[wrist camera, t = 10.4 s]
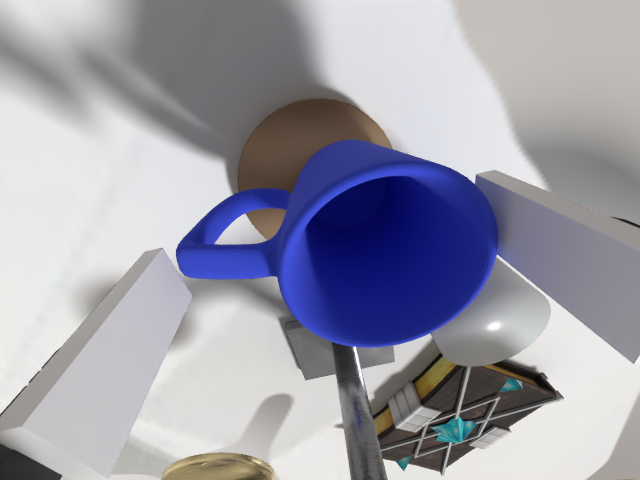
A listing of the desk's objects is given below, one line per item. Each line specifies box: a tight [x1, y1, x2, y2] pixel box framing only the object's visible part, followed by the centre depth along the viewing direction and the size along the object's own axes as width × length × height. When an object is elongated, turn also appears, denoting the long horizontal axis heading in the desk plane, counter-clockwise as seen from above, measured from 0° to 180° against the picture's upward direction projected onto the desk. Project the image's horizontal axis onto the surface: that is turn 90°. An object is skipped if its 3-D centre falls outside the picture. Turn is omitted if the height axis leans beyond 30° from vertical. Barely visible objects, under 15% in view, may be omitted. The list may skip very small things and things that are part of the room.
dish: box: [238, 99, 392, 240], centre depth 19 cm, size 11×11×1 cm
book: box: [373, 353, 564, 476], centre depth 34 cm, size 22×17×5 cm
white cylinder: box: [430, 257, 551, 367], centre depth 19 cm, size 6×6×9 cm
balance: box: [161, 321, 631, 480], centre depth 21 cm, size 8×30×16 cm, turn 102°
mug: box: [176, 140, 499, 348], centre depth 14 cm, size 8×12×10 cm
